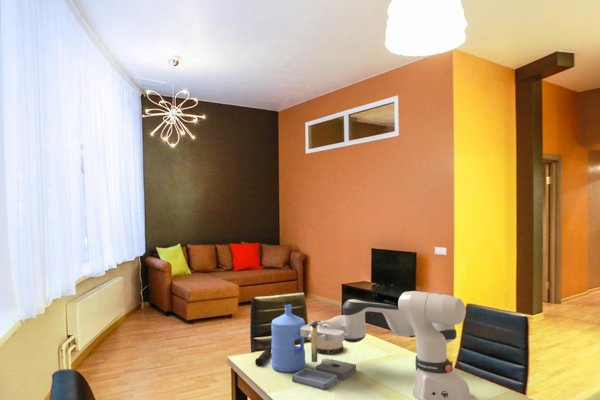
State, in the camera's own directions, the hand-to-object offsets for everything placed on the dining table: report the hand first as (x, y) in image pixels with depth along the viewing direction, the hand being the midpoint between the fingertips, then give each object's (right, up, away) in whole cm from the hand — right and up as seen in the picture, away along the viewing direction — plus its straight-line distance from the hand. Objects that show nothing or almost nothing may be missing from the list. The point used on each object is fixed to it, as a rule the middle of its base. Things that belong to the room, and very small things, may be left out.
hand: (313, 338), depth 168 cm
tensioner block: (+10, -18, +9) cm, 23 cm away
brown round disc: (+9, -20, +40) cm, 45 cm away
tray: (+1, -18, 0) cm, 18 cm away
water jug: (-11, -19, +17) cm, 28 cm away
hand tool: (-23, -20, +27) cm, 40 cm away
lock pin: (+1, -10, 0) cm, 10 cm away
